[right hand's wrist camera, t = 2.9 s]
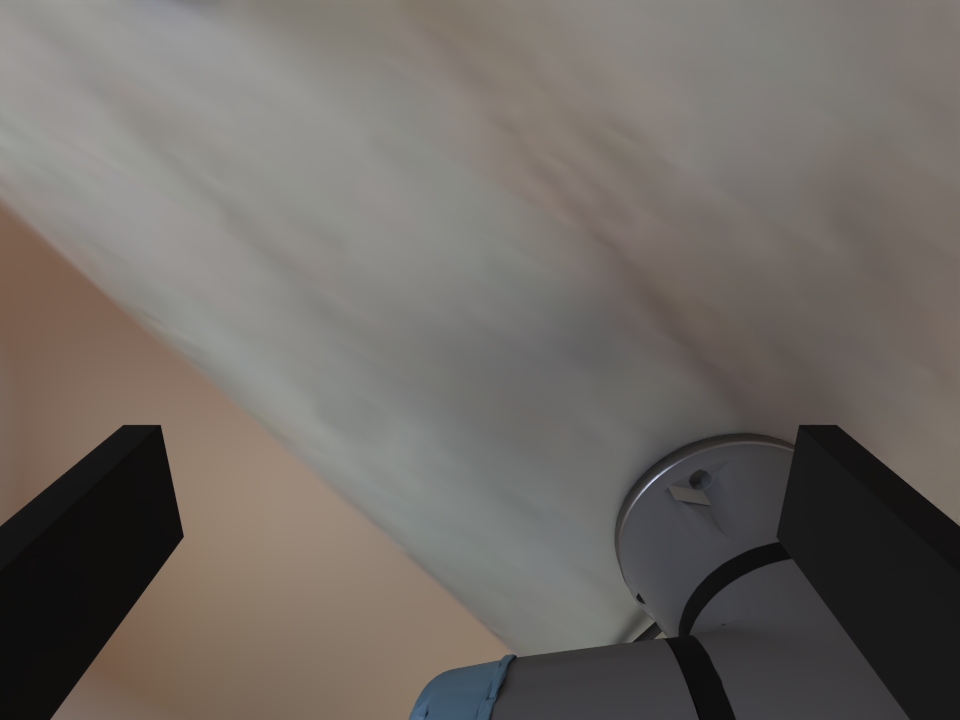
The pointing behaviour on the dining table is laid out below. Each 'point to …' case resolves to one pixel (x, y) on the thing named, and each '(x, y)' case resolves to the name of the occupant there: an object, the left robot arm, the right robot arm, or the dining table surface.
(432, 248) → the dining table surface
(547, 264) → the dining table surface
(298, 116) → the dining table surface
